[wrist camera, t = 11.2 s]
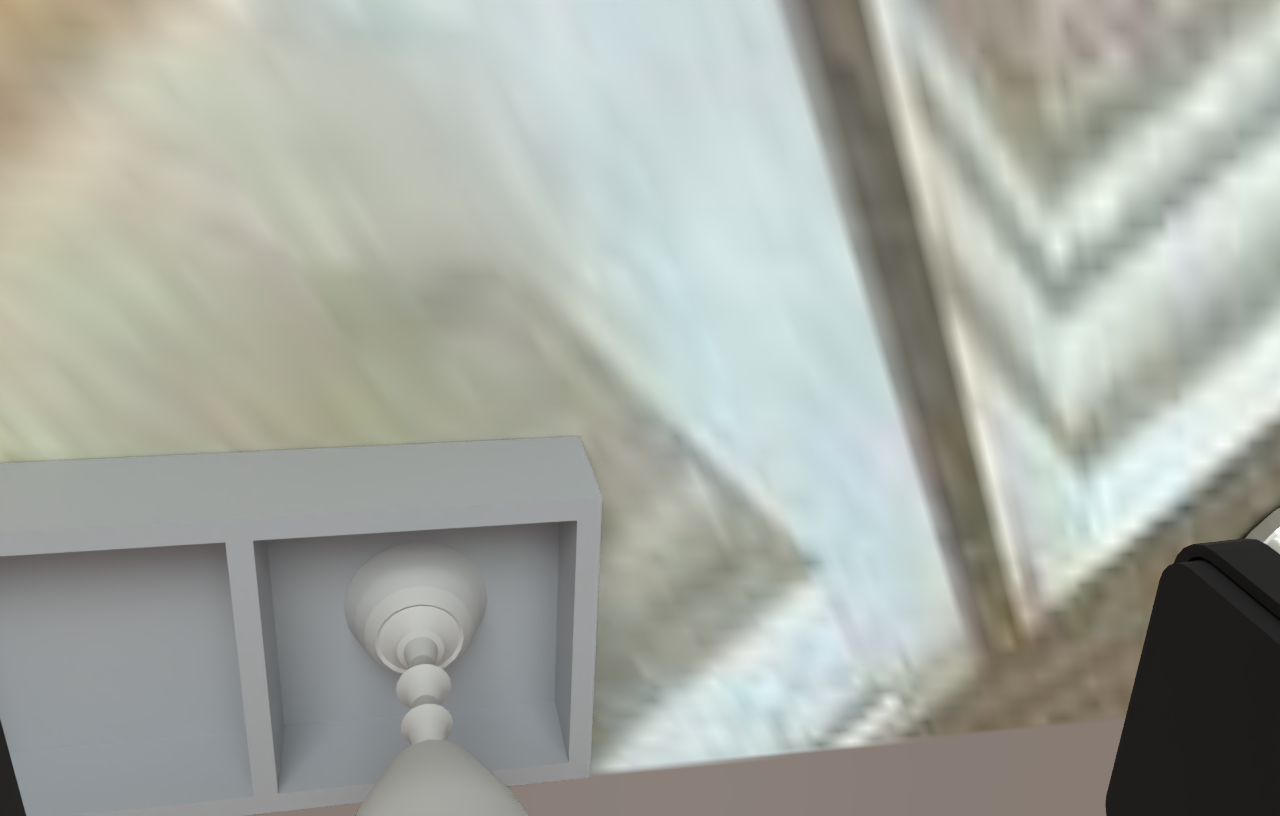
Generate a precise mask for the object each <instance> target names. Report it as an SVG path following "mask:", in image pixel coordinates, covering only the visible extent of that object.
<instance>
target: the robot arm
mask: <svg viewBox="0 0 1280 816" xmlns="http://www.w3.org/2000/svg"><path fill="white" fill-rule="evenodd" d="M1106 815H1107V816H1280V508H1278V509H1277V510H1275V511H1274V512H1272V513H1271V514H1270V515H1269V516H1268V517H1267V518H1265V519H1264V520H1263V521H1262V522H1261V523H1260V524H1259V525H1258V526H1256V527H1255V528H1254V529H1253V530H1252V531H1251V532H1250V533H1249V534H1248V535H1247V536H1246V538H1245V539H1236V540H1227V541H1218V542H1209V543H1200V544H1193V545H1190V546H1187V547H1185V548H1184V549H1183V550H1182V551H1181V552H1180V553H1179V554H1178V555H1177V557H1176V559H1175V562H1174V564H1172V565H1169V566H1168V567H1167V568H1166V569H1165V570H1164V571H1163V573H1162V576H1161V578H1160V581H1159V585H1158V589H1157V593H1156V597H1155V601H1154V605H1153V610H1152V614H1151V618H1150V622H1149V626H1148V630H1147V634H1146V638H1145V642H1144V646H1143V650H1142V654H1141V658H1140V662H1139V666H1138V670H1137V674H1136V678H1135V682H1134V686H1133V690H1132V694H1131V698H1130V702H1129V707H1128V711H1127V715H1126V719H1125V723H1124V727H1123V731H1122V735H1121V739H1120V743H1119V747H1118V751H1117V755H1116V759H1115V763H1114V767H1113V771H1112V776H1111V780H1110V784H1109V787H1108V791H1107V795H1106ZM0 816H26V813H25V809H24V805H23V802H22V798H21V794H20V790H19V787H18V783H17V779H16V776H15V772H14V768H13V764H12V761H11V757H10V753H9V749H8V746H7V742H6V738H5V735H4V731H3V727H2V723H1V720H0Z"/></svg>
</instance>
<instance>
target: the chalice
mask: <svg viewBox="0 0 1280 816" xmlns="http://www.w3.org/2000/svg"><path fill="white" fill-rule="evenodd" d="M486 604H487V593H486V587H485V581H484V579H483V578H482V576H481V574H480V572H479V571H478V569H477V567H476V566H475V564H474V563H472V562H471V561H470V560H469V559H467V558H466V557H465V556H464V555H463V554H461V553H460V552H459V551H456V550H454V549H451V548H448V547H446V546H443V545H441V544H436V543H424V542H412V543H407V544H402V545H396V546H392V547H390V548H388V549H386V550H384V551H382V552H380V553H378V554H376V555H374V556H372V557H371V558H370V559H369V560H368V561H367V562H366V563H365V564H364V565H363V566H362V567H360V568H359V569H358V570H357V571H356V573H355V575H354V577H353V578H352V580H351V582H350V584H349V586H348V587H347V590H346V597H345V603H344V611H345V616H346V620H347V624H348V627H349V629H350V630H351V632H352V633H353V635H354V636H355V637H356V639H357V640H358V642H359V643H360V644H362V645H363V646H364V648H365V649H366V651H367V652H368V653H369V654H370V655H371V656H372V658H373V659H374V661H375V662H377V663H378V664H379V665H381V666H382V667H384V668H385V669H386V670H388V671H391V672H394V673H397V674H400V675H401V677H400V679H399V680H398V682H397V688H396V691H397V696H398V698H399V700H400V701H401V703H402V704H404V705H405V706H406V707H408V708H411V710H410V711H409V712H408V713H407V714H406V715H405V717H404V718H403V720H402V724H401V731H402V735H403V736H404V738H405V740H406V741H408V742H409V743H410V744H412V746H410V747H408V748H406V749H404V750H403V751H402V752H400V753H399V754H398V755H397V756H396V757H395V758H394V759H393V760H392V761H391V763H390V764H389V765H388V767H387V768H386V770H385V771H384V773H383V774H382V775H381V777H380V778H379V780H378V781H377V782H376V784H375V785H374V787H373V788H372V789H371V791H370V792H369V794H368V795H367V796H366V798H365V799H364V801H363V802H362V804H361V806H360V807H359V809H358V811H357V813H356V815H355V816H529V815H528V814H527V812H526V811H525V810H524V808H523V807H522V805H521V804H520V803H519V801H518V800H517V798H516V797H515V796H514V794H513V793H512V792H511V790H510V789H509V788H508V787H507V786H506V785H505V784H504V783H503V782H502V781H501V780H500V779H499V778H498V777H496V776H495V775H494V774H493V773H492V772H491V771H490V770H489V769H488V768H486V767H485V766H484V765H483V764H482V763H481V762H480V761H479V760H478V759H476V758H475V757H474V756H473V755H472V754H471V753H470V752H468V751H467V750H466V749H464V748H463V747H462V746H461V745H458V744H455V743H452V742H450V741H446V740H445V739H446V738H447V737H448V736H449V734H450V732H451V731H452V726H453V721H452V716H451V715H450V713H449V711H447V710H446V709H445V708H444V707H442V706H440V704H441V703H443V702H444V701H445V700H446V698H447V697H448V695H449V693H450V689H451V682H450V678H449V676H448V674H447V673H446V672H445V671H444V670H443V669H445V668H447V667H449V666H451V665H452V664H453V663H454V662H455V661H457V660H458V659H459V658H460V657H461V656H462V655H463V654H464V652H465V650H466V649H467V647H468V645H469V644H470V641H471V639H472V637H473V636H474V634H475V632H476V631H477V628H478V626H479V625H480V623H481V621H482V620H483V618H484V614H485V609H486Z"/></svg>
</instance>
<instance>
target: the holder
mask: <svg viewBox="0 0 1280 816" xmlns="http://www.w3.org/2000/svg"><path fill="white" fill-rule="evenodd" d="M601 520H602V495H601V492H600V489H599V487H598V484H597V481H596V479H595V476H594V473H593V471H592V468H591V465H590V463H589V460H588V458H587V455H586V452H585V450H584V447H583V444H582V442H581V439H580V436H573V437H552V438H530V439H509V440H487V441H466V442H445V443H423V444H402V445H380V446H359V447H337V448H316V449H295V450H273V451H252V452H230V453H209V454H187V455H166V456H145V457H123V458H102V459H80V460H59V461H37V462H16V463H0V720H1V723H2V727H3V731H4V735H5V738H6V742H7V746H8V749H9V753H10V757H11V761H12V764H13V768H14V772H15V776H16V779H17V783H18V787H19V790H20V794H21V798H22V802H23V805H24V809H25V813H26V816H247V815H256V814H265V813H274V812H283V811H292V810H301V809H310V808H319V807H328V806H337V805H347V804H356V803H362V802H363V801H364V799H365V798H366V796H367V795H368V794H369V792H370V791H371V789H372V788H373V787H374V785H375V784H376V782H377V781H378V780H379V778H380V777H381V775H382V774H383V773H384V771H385V770H386V768H387V767H388V765H389V764H390V763H391V761H392V760H393V759H394V758H395V757H396V756H397V755H398V754H399V753H400V752H402V751H403V750H404V749H406V748H408V747H410V746H412V744H410V743H409V742H408V741H406V740H405V738H404V736H403V735H402V731H401V724H402V720H403V718H404V717H405V715H406V714H407V713H408V712H409V711H410V710H411V708H408V707H406V706H405V705H404V704H402V703H401V701H400V700H399V698H398V696H397V691H396V688H397V682H398V680H399V679H400V677H401V675H400V674H397V673H394V672H391V671H388V670H386V669H385V668H384V667H382V666H381V665H379V664H378V663H377V662H375V661H374V659H373V658H372V656H371V655H370V654H369V653H368V652H367V651H366V649H365V648H364V646H363V645H362V644H360V643H359V642H358V640H357V639H356V637H355V636H354V635H353V633H352V632H351V630H350V629H349V627H348V624H347V620H346V616H345V611H344V603H345V597H346V590H347V587H348V586H349V584H350V582H351V580H352V578H353V577H354V575H355V573H356V571H357V570H358V569H359V568H360V567H362V566H363V565H364V564H365V563H366V562H367V561H368V560H369V559H370V558H371V557H372V556H374V555H376V554H378V553H380V552H382V551H384V550H386V549H388V548H390V547H392V546H396V545H402V544H407V543H412V542H424V543H436V544H441V545H443V546H446V547H448V548H451V549H454V550H456V551H459V552H460V553H461V554H463V555H464V556H465V557H466V558H467V559H469V560H470V561H471V562H472V563H474V564H475V566H476V567H477V569H478V571H479V572H480V574H481V576H482V578H483V579H484V581H485V587H486V593H487V604H486V609H485V614H484V618H483V620H482V621H481V623H480V625H479V626H478V628H477V631H476V632H475V634H474V636H473V637H472V639H471V641H470V644H469V645H468V647H467V649H466V650H465V652H464V654H463V655H462V656H461V657H460V658H459V659H458V660H457V661H455V662H454V663H453V664H452V665H451V666H449V667H447V668H445V669H443V670H444V671H445V672H446V673H447V674H448V676H449V678H450V682H451V689H450V693H449V695H448V697H447V698H446V700H445V701H444V702H443V703H441V704H440V706H442V707H444V708H445V709H446V710H447V711H449V713H450V715H451V716H452V721H453V726H452V731H451V732H450V734H449V736H448V737H447V738H446V739H445V740H446V741H450V742H452V743H455V744H458V745H461V746H462V747H463V748H464V749H466V750H467V751H468V752H470V753H471V754H472V755H473V756H474V757H475V758H476V759H478V760H479V761H480V762H481V763H482V764H483V765H484V766H485V767H486V768H488V769H489V770H490V771H491V772H492V773H493V774H494V775H495V776H496V777H498V778H499V779H500V780H501V781H502V782H503V783H504V784H505V785H506V786H507V787H510V786H519V785H528V784H537V783H546V782H555V781H564V780H573V779H583V778H590V767H591V745H592V722H593V700H594V677H595V655H596V632H597V610H598V587H599V565H600V542H601Z"/></svg>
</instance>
